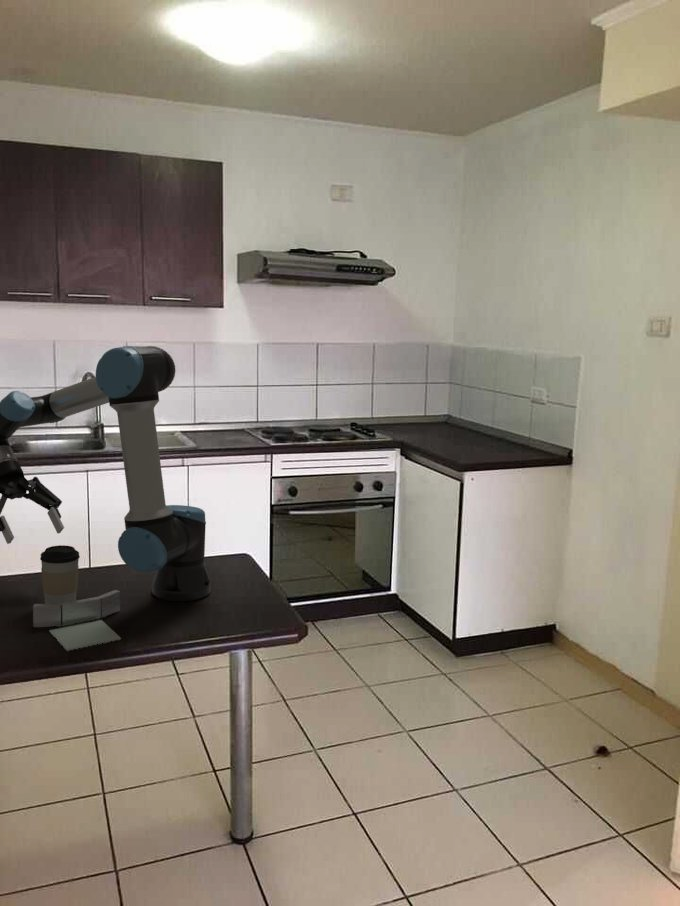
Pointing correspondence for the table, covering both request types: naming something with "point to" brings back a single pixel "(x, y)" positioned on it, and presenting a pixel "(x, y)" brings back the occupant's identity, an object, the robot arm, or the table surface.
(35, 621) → the bent rail
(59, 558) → the coffee cup
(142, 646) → the table surface
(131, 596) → the table surface
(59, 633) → the mat
